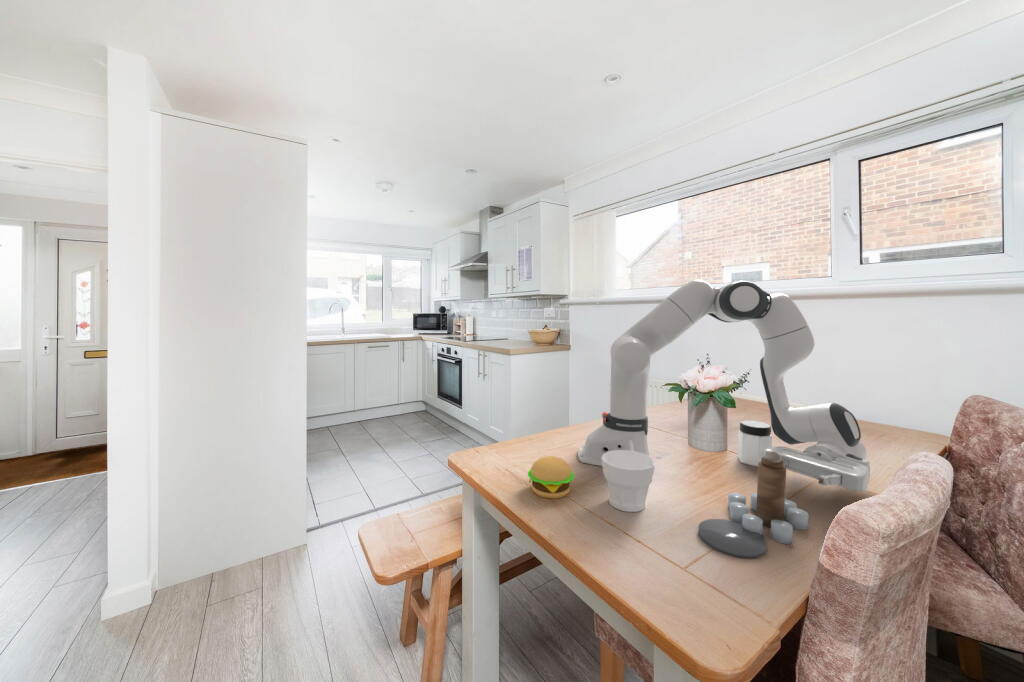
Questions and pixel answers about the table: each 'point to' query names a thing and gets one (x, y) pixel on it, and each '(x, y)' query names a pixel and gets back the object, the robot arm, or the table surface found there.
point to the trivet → (732, 538)
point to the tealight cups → (779, 528)
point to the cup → (627, 478)
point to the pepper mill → (771, 488)
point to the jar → (753, 441)
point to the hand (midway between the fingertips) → (797, 473)
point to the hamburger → (551, 477)
